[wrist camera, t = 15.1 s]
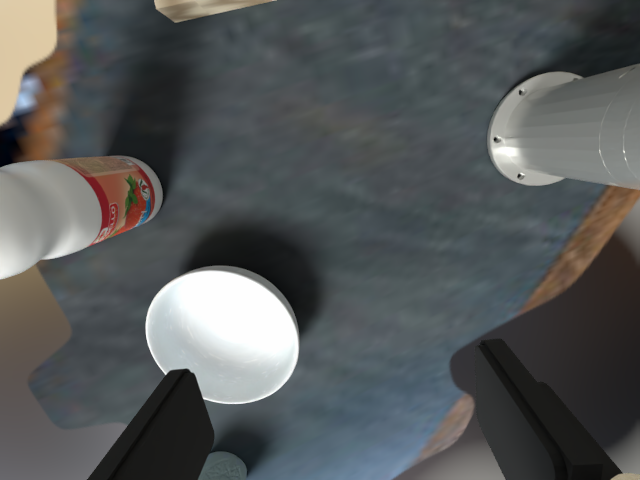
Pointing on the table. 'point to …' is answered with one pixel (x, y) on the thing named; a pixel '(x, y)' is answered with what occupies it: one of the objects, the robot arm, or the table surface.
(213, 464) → the grey cup
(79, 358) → the table surface
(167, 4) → the plate
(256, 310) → the serving bowl
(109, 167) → the fruit juice
